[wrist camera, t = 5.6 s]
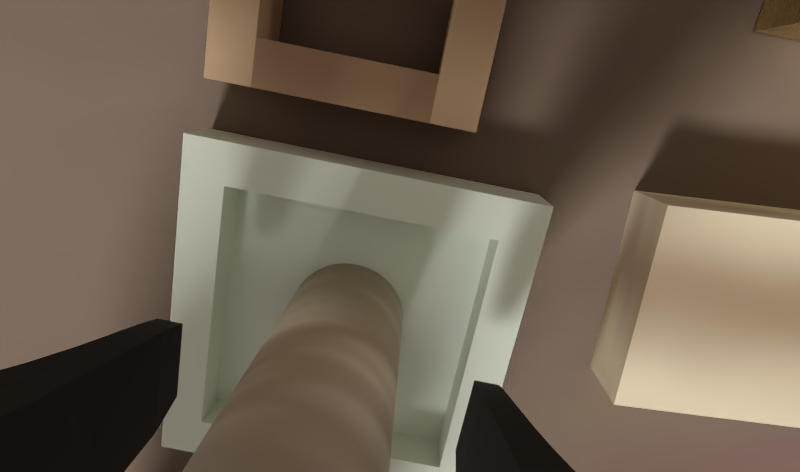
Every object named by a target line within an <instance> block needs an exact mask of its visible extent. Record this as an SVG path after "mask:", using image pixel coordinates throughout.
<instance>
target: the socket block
mask: <svg viewBox="0 0 800 472" xmlns="http://www.w3.org/2000/svg"><path fill="white" fill-rule="evenodd" d="M506 2H507V0H453V2H452V7H451V12H450V17H449V22H448V27H447V32H446V36H445V41H444V46H443V51H442V56H441V61H440V66H439V71H438V74H435V73H430V72H425V71H420V70H415V69H410V68H405V67H400V66H395V65H391V64H386V63H381V62H376V61H371V60H366V59H361V58H356V57H351V56H346V55H341V54H336V53H332V52H327V51H322V50H317V49H312V48H307V47H302V46H297V45H292V44H287V43H282V42H279V37H280V28H281V20H282V12H283V3H284V0H210V5H209V18H208V30H207V43H206V55H205V68H204V78H207V79H212V80H217V81H222V82H227V83H232V84H237V85H242V86H247V87H252V88H257V89H262V90H267V91H272V92H277V93H281V94H286V95H291V96H296V97H301V98H306V99H311V100H316V101H321V102H326V103H331V104H336V105H341V106H346V107H351V108H356V109H361V110H366V111H371V112H376V113H381V114H385V115H390V116H395V117H400V118H405V119H410V120H415V121H420V122H425V123H430V124H435V125H440V126H445V127H450V128H455V129H460V130H465V131H470V132H475V133H476V131H477V126H478V122H479V118H480V114H481V109H482V105H483V101H484V96H485V92H486V88H487V84H488V79H489V75H490V71H491V66H492V62H493V58H494V54H495V49H496V45H497V41H498V36H499V32H500V28H501V24H502V19H503V15H504V11H505V6H506Z"/></svg>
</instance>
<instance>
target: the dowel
mask: <svg viewBox="0 0 800 472" xmlns="http://www.w3.org/2000/svg"><path fill="white" fill-rule="evenodd" d="M402 320H403V314H402V307H401V303H400V300H399V297H398V295H397V293H396V292H395V290H394V289H393V287H392V286H391V284H390V283H389V282H388V281H387V280H386V279H385V278H383V277H382V276H381V275H380V274H378V273H376V272H375V271H373V270H371V269H369V268H366V267H363V266H360V265H356V264H347V263H343V264H334V265H329V266H326V267H323V268H321V269H319V270H317V271H315V272H314V273H312V274H311V275H310V276H309V277H307V278H306V279H305V280H304V282H303V283H302V284H301V285H300V287H299V288H298V290H297V292H296V293H295V295H294V296H293V298H292V299H291V301H290V303H289V304H288V306H287V307H286V309H285V310H284V312H283V314H282V315H281V317H280V318H279V320H278V321H277V323H276V325H275V326H274V328H273V329H272V331H271V332H270V334H269V336H268V337H267V339H266V340H265V342H264V343H263V345H262V347H261V348H260V350H259V351H258V353H257V354H256V356H255V358H254V359H253V361H252V362H251V364H250V366H249V367H248V369H247V370H246V372H245V373H244V375H243V377H242V378H241V380H240V381H239V383H238V384H237V386H236V388H235V389H234V391H233V392H232V394H231V395H230V397H229V399H228V400H227V402H226V403H225V405H224V406H223V408H222V410H221V411H220V413H219V414H218V416H217V417H216V419H215V421H214V422H213V424H212V425H211V427H210V428H209V430H208V432H207V433H206V435H205V436H204V438H203V439H202V441H201V443H200V444H199V446H198V447H197V449H196V450H195V452H194V454H193V455H192V457H191V458H190V460H189V461H188V463H187V465H186V466H185V468H184V469H183V471H182V472H389V468H390V457H391V445H392V434H393V423H394V411H395V400H396V389H397V377H398V366H399V354H400V343H401V332H402Z"/></svg>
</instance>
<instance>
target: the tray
mask: <svg viewBox="0 0 800 472" xmlns="http://www.w3.org/2000/svg"><path fill="white" fill-rule="evenodd" d="M553 208H554V207H553V206H552V205H551V204H549V203H548V202H547V201H546V200H545V199H543V198H542V197H541V196H540V195H539V194H534V193H529V192H524V191H519V190H514V189H509V188H504V187H499V186H494V185H489V184H485V183H480V182H475V181H470V180H465V179H460V178H455V177H450V176H445V175H440V174H435V173H430V172H425V171H420V170H415V169H410V168H405V167H400V166H395V165H390V164H385V163H380V162H375V161H370V160H365V159H360V158H355V157H350V156H345V155H340V154H335V153H330V152H325V151H320V150H315V149H310V148H305V147H300V146H295V145H290V144H285V143H280V142H275V141H270V140H265V139H260V138H255V137H250V136H245V135H240V134H235V133H230V132H225V131H220V130H215V129H206V130H200V131H193V132H186V133H183V147H182V161H181V175H180V189H179V203H178V217H177V231H176V245H175V259H174V273H173V287H172V301H171V315H170V321H172V322H177V323H182V324H183V327H182V340H181V353H180V365H179V378H178V390H177V397H176V399H175V401H174V402H173V404H172V406H171V407H170V409H169V411H168V413H167V414H166V416H165V418H164V419H163V427H162V441H161V447H167V448H172V449H177V450H182V451H188V452H193V453H194V452H195V450H196V449H197V447H198V446H199V444H200V443H201V441H202V439H203V438H204V436H205V435H206V433H207V432H208V430H209V428H210V427H211V425H212V424H213V422H214V421H215V419H216V417H217V416H218V414H219V413H220V411H221V410H222V408H223V406H224V405H225V403H226V402H227V400H228V399H229V397H230V395H231V394H232V392H233V391H234V389H235V388H236V386H237V384H238V383H239V381H240V380H241V378H242V377H243V375H244V373H245V372H246V370H247V369H248V367H249V366H250V364H251V362H252V361H253V359H254V358H255V356H256V354H257V353H258V351H259V350H260V348H261V347H262V345H263V343H264V342H265V340H266V339H267V337H268V336H269V334H270V332H271V331H272V329H273V328H274V326H275V325H276V323H277V321H278V320H279V318H280V317H281V315H282V314H283V312H284V310H285V309H286V307H287V306H288V304H289V303H290V301H291V299H292V298H293V296H294V295H295V293H296V292H297V290H298V288H299V287H300V285H301V284H302V283H303V282H304V280H305V279H306V278H307V277H309V276H310V275H311V274H312V273H314V272H315V271H317V270H319V269H321V268H323V267H326V266H329V265H334V264H343V263H347V264H356V265H360V266H363V267H366V268H369V269H371V270H373V271H375V272H376V273H378V274H380V275H381V276H382V277H383V278H385V279H386V280H387V281H388V282H389V283H390V284H391V286H392V287H393V289H394V290H395V292H396V293H397V295H398V297H399V300H400V303H401V307H402V314H403V320H402V332H401V343H400V354H399V366H398V377H397V389H396V400H395V411H394V423H393V434H392V445H391V457H390V468H389V472H456V447H457V443H458V439H459V435H460V432H461V428H462V424H463V421H464V417H465V413H466V409H467V406H468V402H469V398H470V395H471V391H472V387H473V383H474V380H476V381H481V382H486V383H491V384H496V385H499V386H500V387H501V388H502V385H503V382H504V378H505V375H506V371H507V368H508V364H509V361H510V357H511V354H512V350H513V347H514V344H515V340H516V337H517V333H518V330H519V326H520V323H521V319H522V316H523V312H524V309H525V305H526V302H527V298H528V295H529V291H530V288H531V285H532V281H533V278H534V274H535V271H536V267H537V264H538V260H539V257H540V253H541V250H542V246H543V243H544V239H545V236H546V232H547V229H548V226H549V222H550V219H551V215H552V212H553Z"/></svg>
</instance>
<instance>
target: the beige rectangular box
mask: <svg viewBox="0 0 800 472" xmlns="http://www.w3.org/2000/svg"><path fill="white" fill-rule="evenodd" d="M591 369H592V370H593V372H594V373H595V375H596V377H597V378H598V380H599V381H600V383H601V385H602V386H603V388H604V389H605V391H606V393H607V394H608V396H609V398H610V399H611V401H612V402H613V404H614V405H621V406H629V407H637V408H645V409H653V410H661V411H669V412H677V413H685V414H693V415H701V416H709V417H717V418H725V419H733V420H741V421H749V422H757V423H765V424H773V425H781V426H789V427H797V428H800V210H795V209H787V208H778V207H770V206H762V205H753V204H745V203H737V202H728V201H720V200H711V199H703V198H695V197H686V196H678V195H670V194H661V193H653V192H644V191H636V190H634V194H633V198H632V202H631V206H630V210H629V214H628V218H627V222H626V226H625V230H624V234H623V238H622V242H621V246H620V250H619V254H618V258H617V262H616V266H615V270H614V274H613V278H612V282H611V286H610V290H609V294H608V298H607V303H606V307H605V311H604V315H603V319H602V323H601V327H600V331H599V335H598V339H597V343H596V347H595V351H594V355H593V359H592V363H591Z"/></svg>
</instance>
